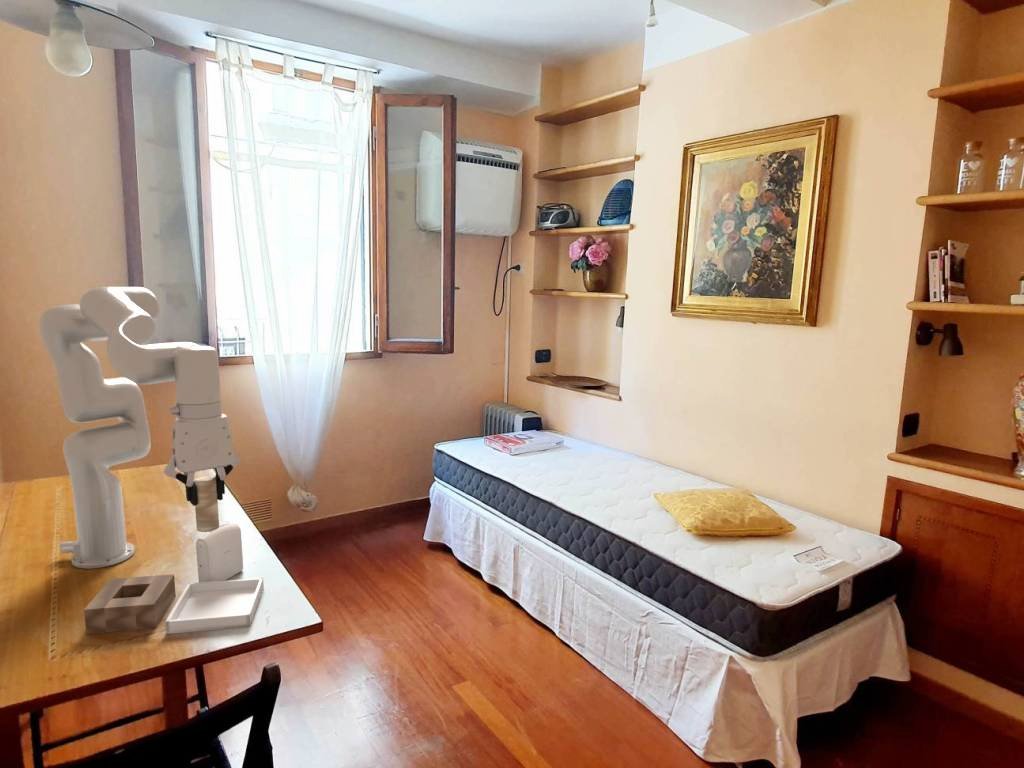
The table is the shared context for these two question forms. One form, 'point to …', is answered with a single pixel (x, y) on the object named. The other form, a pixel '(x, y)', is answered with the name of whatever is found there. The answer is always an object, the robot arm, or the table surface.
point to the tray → (215, 605)
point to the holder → (130, 604)
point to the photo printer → (219, 553)
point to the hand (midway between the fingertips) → (206, 500)
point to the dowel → (206, 504)
